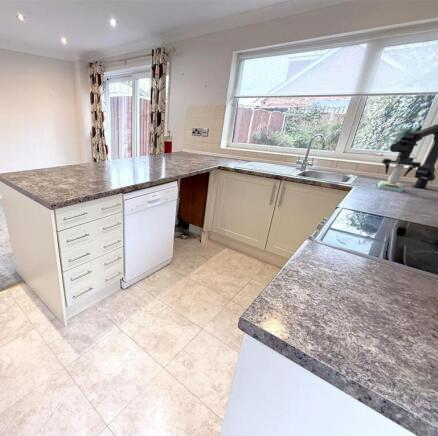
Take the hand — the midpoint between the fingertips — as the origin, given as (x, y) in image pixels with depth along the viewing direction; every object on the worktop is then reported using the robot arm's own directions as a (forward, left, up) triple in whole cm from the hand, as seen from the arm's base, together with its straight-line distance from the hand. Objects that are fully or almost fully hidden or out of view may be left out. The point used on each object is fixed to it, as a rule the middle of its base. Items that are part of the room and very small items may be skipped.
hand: (394, 175), depth 170 cm
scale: (+1, 0, -9) cm, 9 cm away
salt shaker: (-1, 0, -6) cm, 6 cm away
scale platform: (0, 0, -7) cm, 7 cm away
